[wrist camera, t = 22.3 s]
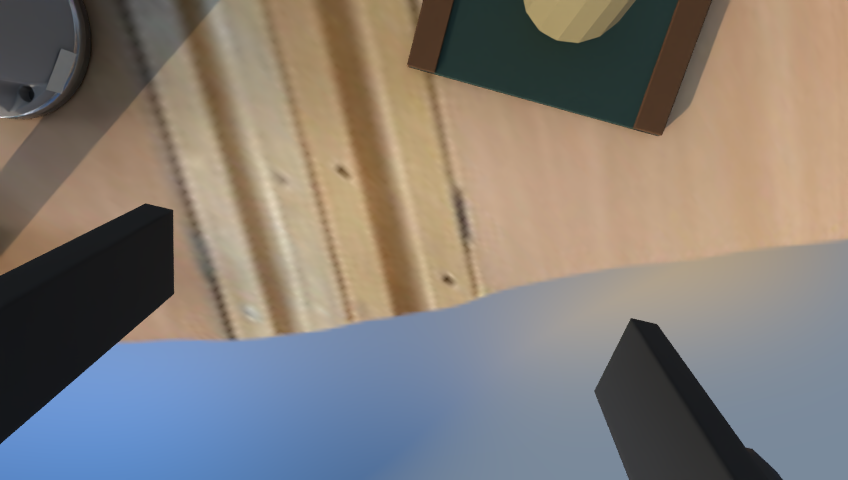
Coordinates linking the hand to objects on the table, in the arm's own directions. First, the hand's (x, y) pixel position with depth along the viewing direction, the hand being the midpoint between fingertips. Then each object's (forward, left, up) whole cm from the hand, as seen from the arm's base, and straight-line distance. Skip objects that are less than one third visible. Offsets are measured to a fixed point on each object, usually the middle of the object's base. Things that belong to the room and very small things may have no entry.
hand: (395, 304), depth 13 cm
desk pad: (+6, +19, -27) cm, 34 cm away
